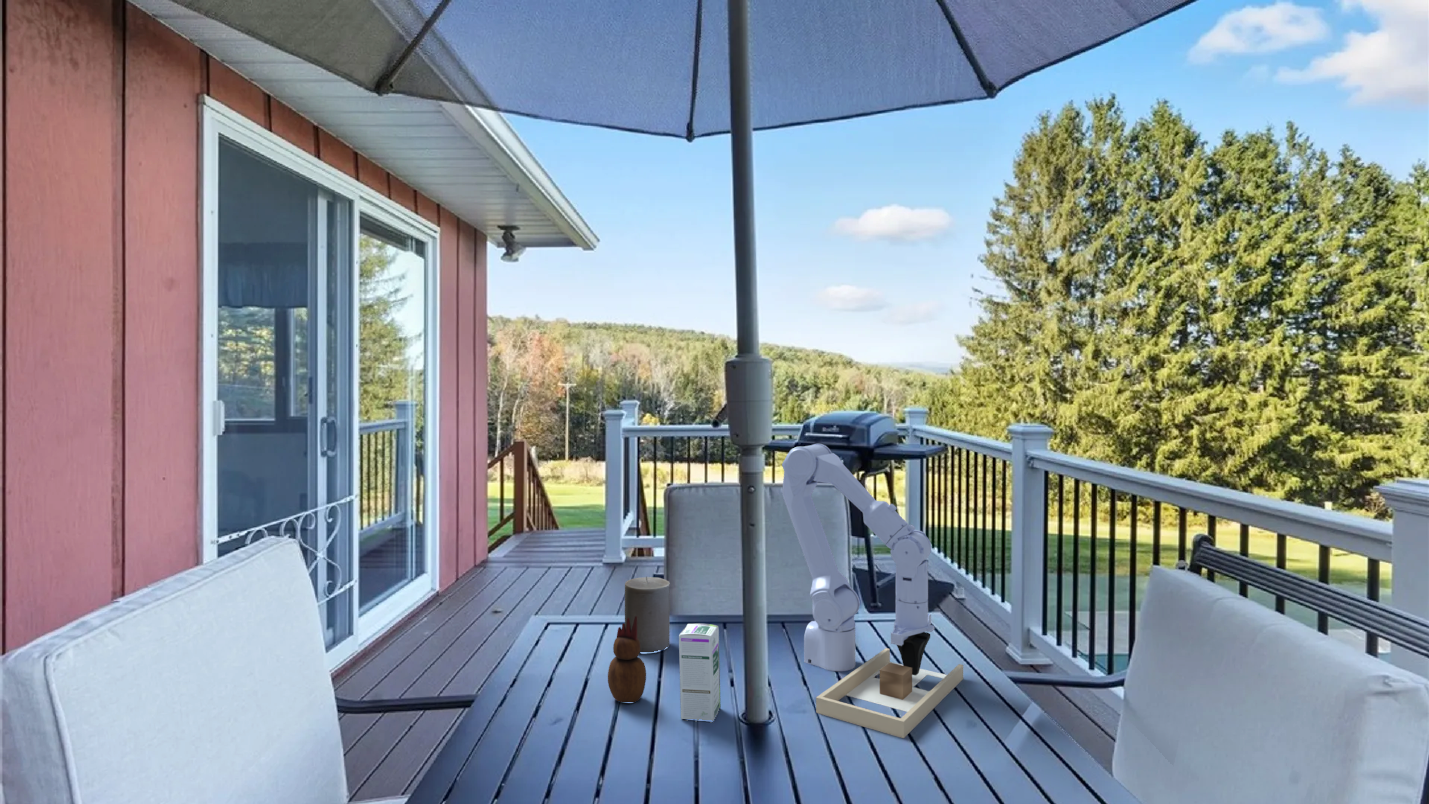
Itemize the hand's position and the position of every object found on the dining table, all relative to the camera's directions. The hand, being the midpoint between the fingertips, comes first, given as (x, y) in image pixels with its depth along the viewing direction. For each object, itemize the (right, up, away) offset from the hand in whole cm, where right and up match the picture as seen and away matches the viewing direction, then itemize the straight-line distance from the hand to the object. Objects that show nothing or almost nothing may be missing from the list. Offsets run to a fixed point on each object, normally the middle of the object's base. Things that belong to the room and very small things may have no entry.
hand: (911, 673), depth 133 cm
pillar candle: (-50, -3, +22) cm, 55 cm away
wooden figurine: (-51, -3, -4) cm, 52 cm away
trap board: (-5, -3, -7) cm, 9 cm away
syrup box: (-38, -3, -10) cm, 40 cm away
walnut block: (-4, -1, -6) cm, 7 cm away
